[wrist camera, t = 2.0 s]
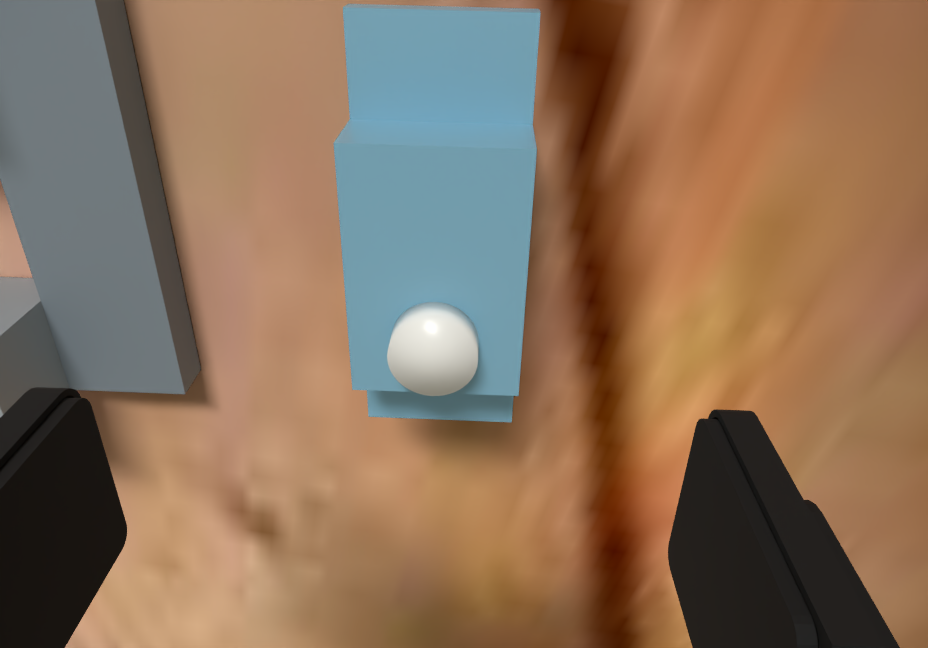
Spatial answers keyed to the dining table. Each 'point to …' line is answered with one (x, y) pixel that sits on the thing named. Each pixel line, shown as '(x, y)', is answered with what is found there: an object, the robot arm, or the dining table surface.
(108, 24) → the block
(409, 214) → the block
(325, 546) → the dining table surface
